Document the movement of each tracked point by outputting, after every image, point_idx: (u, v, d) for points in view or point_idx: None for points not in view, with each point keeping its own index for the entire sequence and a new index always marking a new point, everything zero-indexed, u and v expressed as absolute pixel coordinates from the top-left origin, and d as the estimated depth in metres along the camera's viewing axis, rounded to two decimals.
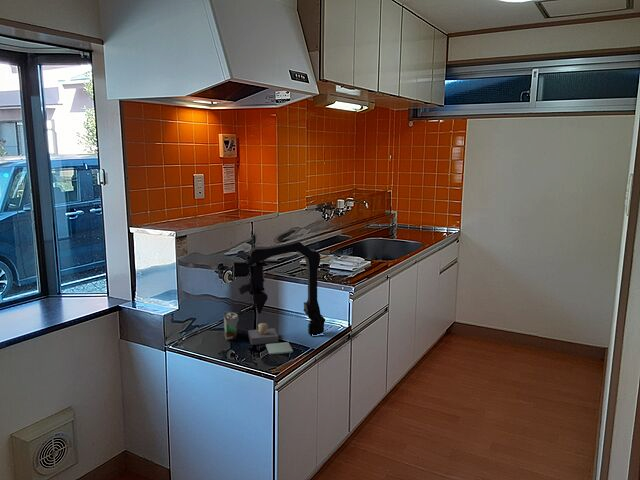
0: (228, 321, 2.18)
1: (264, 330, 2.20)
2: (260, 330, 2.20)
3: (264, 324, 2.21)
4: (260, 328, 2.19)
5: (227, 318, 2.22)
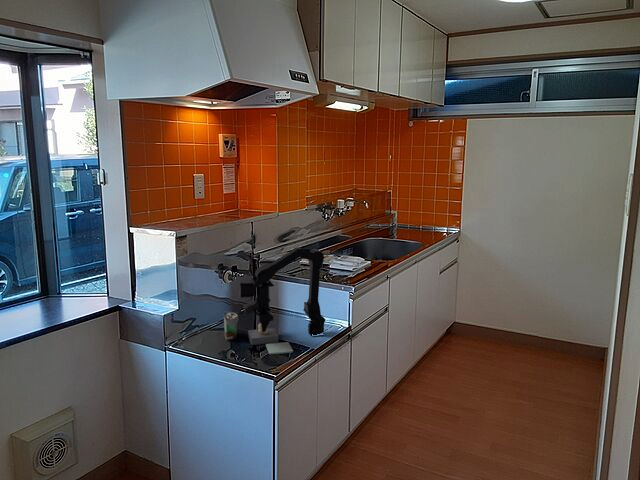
0: (228, 321, 2.18)
1: None
2: (260, 330, 2.20)
3: None
4: (260, 328, 2.19)
5: (227, 318, 2.22)
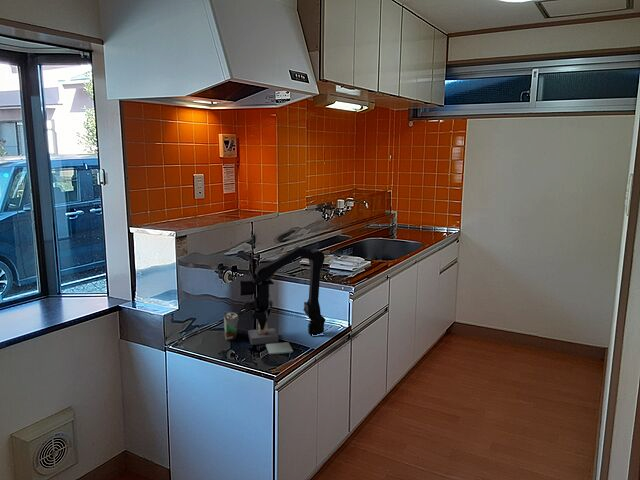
0: (228, 321, 2.18)
1: None
2: (259, 328, 2.20)
3: None
4: (259, 326, 2.20)
5: (227, 318, 2.22)
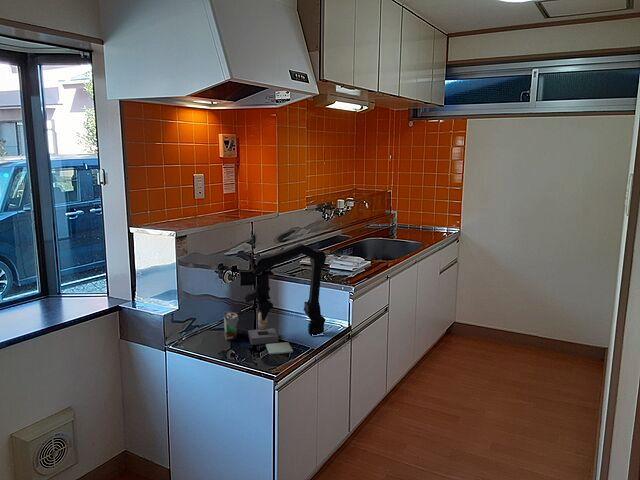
0: (228, 321, 2.18)
1: None
2: (260, 319, 2.19)
3: None
4: (260, 317, 2.18)
5: (227, 318, 2.22)
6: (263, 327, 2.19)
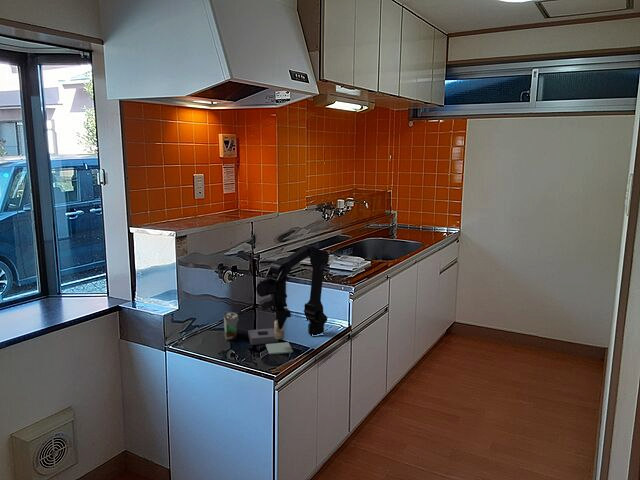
0: (228, 321, 2.18)
1: None
2: (276, 327, 2.09)
3: None
4: (276, 325, 2.08)
5: (227, 318, 2.22)
6: (280, 336, 2.09)
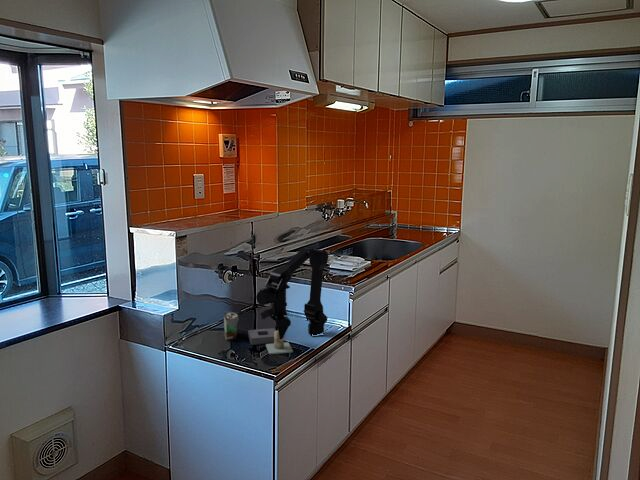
0: (228, 321, 2.18)
1: None
2: (276, 338, 2.09)
3: None
4: (276, 335, 2.09)
5: (227, 318, 2.22)
6: (280, 346, 2.10)
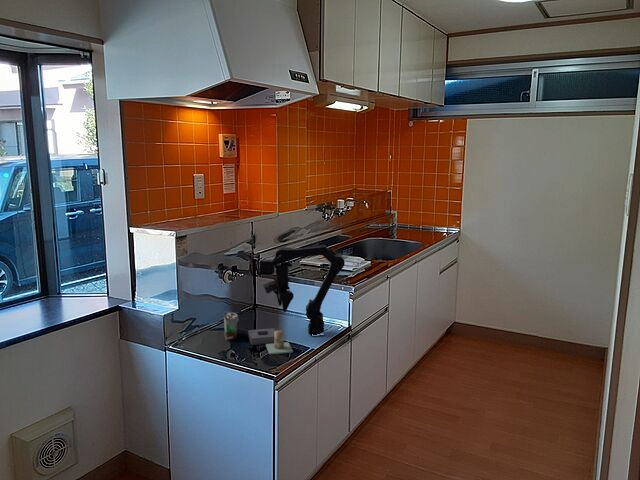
0: (228, 321, 2.18)
1: (280, 338, 2.09)
2: (276, 338, 2.09)
3: (280, 331, 2.11)
4: (276, 335, 2.09)
5: (227, 318, 2.22)
6: (280, 346, 2.10)
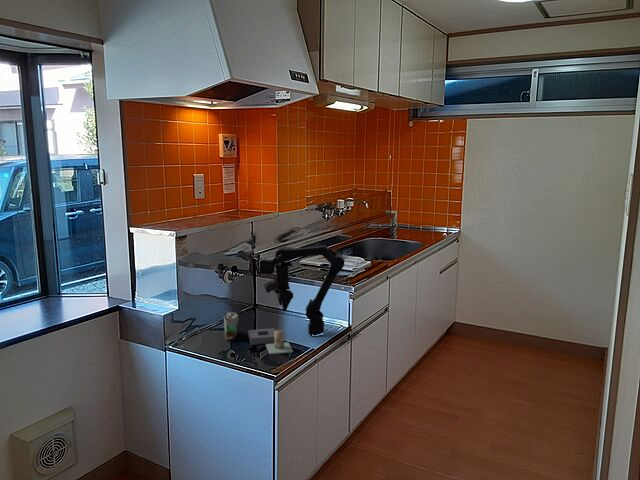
0: (228, 321, 2.18)
1: (280, 338, 2.09)
2: (276, 338, 2.09)
3: (280, 331, 2.11)
4: (276, 335, 2.09)
5: (227, 318, 2.22)
6: (280, 346, 2.10)
